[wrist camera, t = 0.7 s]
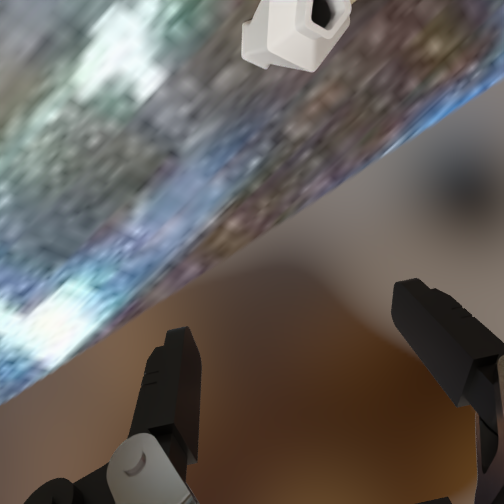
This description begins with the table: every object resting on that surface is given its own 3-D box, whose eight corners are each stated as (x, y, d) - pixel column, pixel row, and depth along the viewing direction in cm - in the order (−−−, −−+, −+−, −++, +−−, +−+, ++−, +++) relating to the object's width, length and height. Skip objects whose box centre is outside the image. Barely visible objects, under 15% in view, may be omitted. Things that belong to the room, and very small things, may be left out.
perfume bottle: (223, 32, 24) (253, -16, 11) (266, -3, 23) (349, -97, 11) (252, 85, 26) (303, 93, 14) (292, 54, 26) (385, 33, 13)
